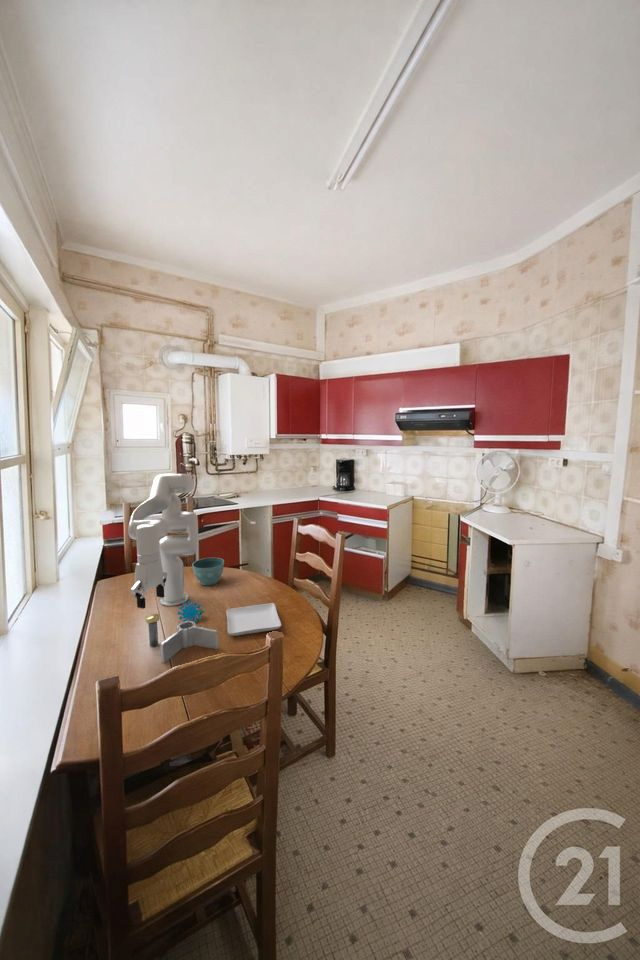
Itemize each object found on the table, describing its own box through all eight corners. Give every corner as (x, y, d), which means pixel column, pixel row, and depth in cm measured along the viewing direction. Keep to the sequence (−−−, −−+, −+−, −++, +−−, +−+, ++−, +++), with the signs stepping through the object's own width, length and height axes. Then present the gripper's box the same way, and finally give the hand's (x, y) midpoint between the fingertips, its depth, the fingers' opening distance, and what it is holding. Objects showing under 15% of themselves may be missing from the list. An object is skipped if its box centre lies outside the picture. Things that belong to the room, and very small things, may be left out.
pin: (144, 647, 141) (142, 618, 140) (153, 640, 146) (151, 612, 144) (154, 649, 140) (152, 620, 138) (163, 642, 144) (162, 614, 143)
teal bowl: (212, 590, 192) (211, 569, 190) (186, 585, 197) (185, 565, 196) (230, 578, 207) (230, 559, 205) (206, 574, 212) (205, 556, 211)
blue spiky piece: (177, 624, 155) (178, 600, 161) (175, 629, 159) (176, 605, 165) (205, 622, 159) (204, 599, 165) (203, 627, 163) (202, 604, 169)
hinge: (154, 661, 133) (153, 642, 132) (185, 636, 148) (184, 620, 147) (195, 670, 128) (194, 650, 127) (222, 644, 143) (221, 626, 142)
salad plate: (228, 641, 146) (227, 632, 145) (226, 615, 166) (226, 608, 166) (282, 633, 152) (282, 625, 151) (274, 609, 172) (274, 602, 171)
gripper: (157, 549, 148) (159, 591, 150) (121, 564, 131) (124, 611, 133) (173, 551, 145) (175, 594, 147) (139, 566, 129) (141, 614, 131)
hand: (151, 602), depth 140 cm, fingers open, 9 cm apart
